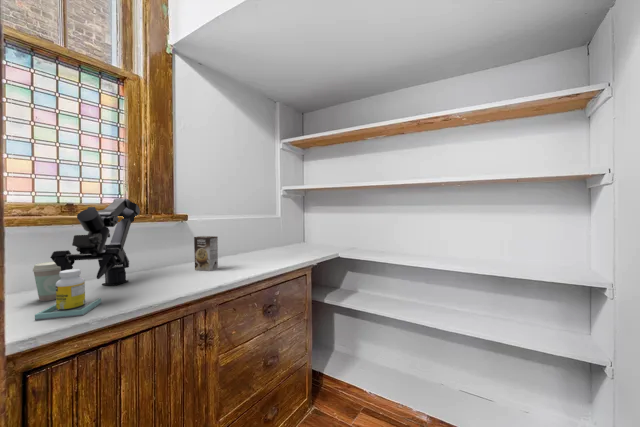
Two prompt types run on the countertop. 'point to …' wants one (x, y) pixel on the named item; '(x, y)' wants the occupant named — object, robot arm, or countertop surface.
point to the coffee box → (206, 253)
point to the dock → (53, 313)
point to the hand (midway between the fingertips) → (80, 279)
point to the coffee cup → (46, 280)
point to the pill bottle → (70, 291)
